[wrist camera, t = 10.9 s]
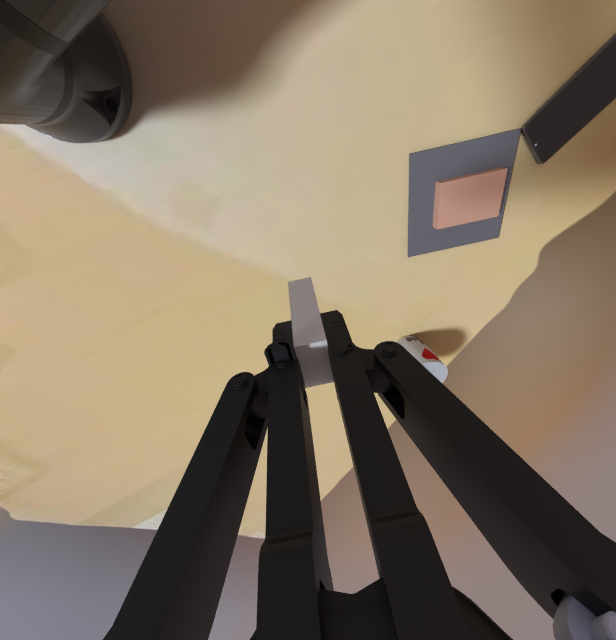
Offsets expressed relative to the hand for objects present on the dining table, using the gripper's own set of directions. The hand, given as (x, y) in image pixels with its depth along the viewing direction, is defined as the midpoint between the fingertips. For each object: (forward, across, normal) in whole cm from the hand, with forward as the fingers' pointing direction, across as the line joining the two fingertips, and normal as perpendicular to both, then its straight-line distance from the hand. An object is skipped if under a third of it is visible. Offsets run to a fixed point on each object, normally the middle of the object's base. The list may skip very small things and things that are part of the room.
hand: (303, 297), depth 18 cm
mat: (+29, +27, -5) cm, 40 cm away
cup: (+30, +19, -34) cm, 49 cm away
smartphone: (+30, +43, +5) cm, 53 cm away
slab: (+28, +23, -5) cm, 37 cm away
